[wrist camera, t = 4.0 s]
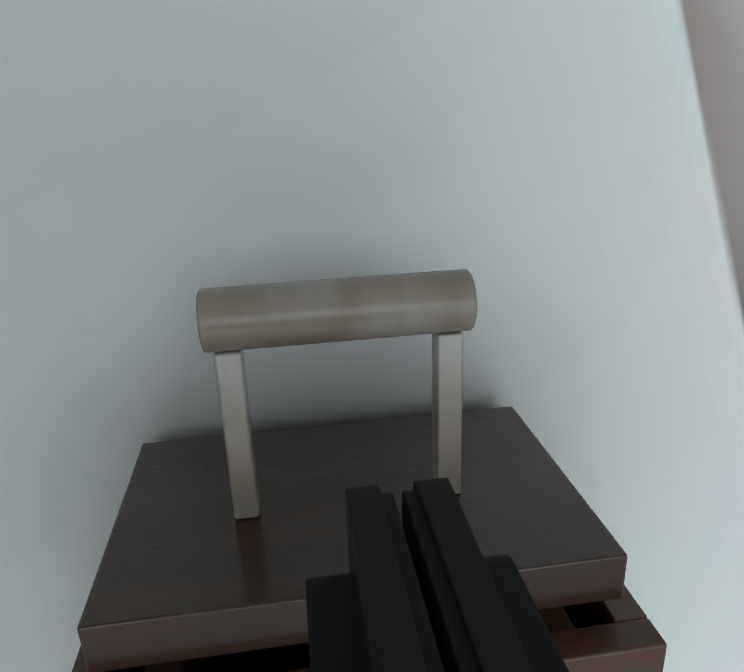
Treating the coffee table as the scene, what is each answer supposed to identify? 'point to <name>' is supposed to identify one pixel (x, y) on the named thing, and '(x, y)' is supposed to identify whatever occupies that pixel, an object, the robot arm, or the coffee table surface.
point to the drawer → (322, 490)
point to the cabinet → (582, 639)
